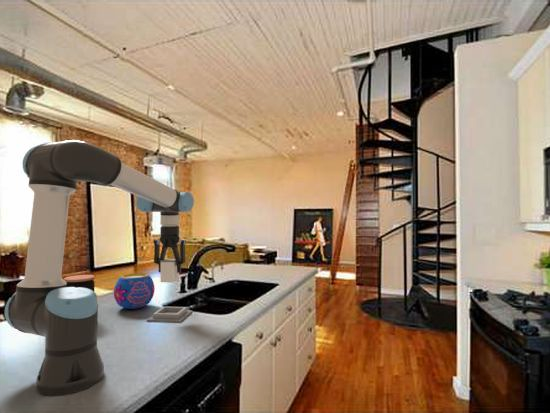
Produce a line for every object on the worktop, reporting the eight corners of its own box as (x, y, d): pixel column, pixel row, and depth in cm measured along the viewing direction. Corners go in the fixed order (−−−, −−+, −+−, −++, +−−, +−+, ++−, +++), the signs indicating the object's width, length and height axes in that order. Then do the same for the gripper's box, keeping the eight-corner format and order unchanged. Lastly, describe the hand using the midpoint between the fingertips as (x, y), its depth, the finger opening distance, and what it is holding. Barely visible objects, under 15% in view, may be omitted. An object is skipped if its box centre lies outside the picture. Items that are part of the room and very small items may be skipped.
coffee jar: (56, 324, 130) (57, 278, 130) (80, 316, 140) (80, 274, 140) (77, 327, 126) (78, 280, 127) (100, 319, 137) (100, 275, 137)
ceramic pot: (147, 300, 165) (147, 270, 166) (159, 308, 151) (160, 275, 152) (109, 306, 154) (109, 274, 155) (119, 316, 140) (119, 280, 141)
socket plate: (180, 322, 132) (180, 316, 132) (146, 321, 134) (146, 315, 134) (192, 312, 146) (192, 306, 146) (161, 311, 147) (161, 305, 148)
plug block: (173, 282, 137) (173, 260, 137) (160, 282, 137) (160, 260, 137) (178, 279, 142) (178, 258, 142) (166, 279, 143) (166, 258, 143)
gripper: (193, 225, 143) (194, 278, 143) (152, 225, 145) (152, 278, 144) (187, 226, 135) (187, 282, 135) (144, 226, 137) (144, 281, 137)
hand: (169, 280), depth 140 cm, fingers closed on plug block, 5 cm apart
